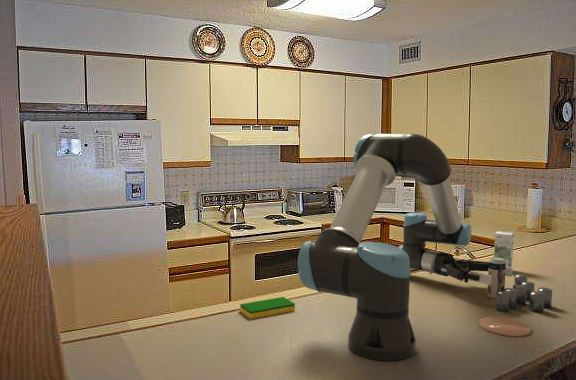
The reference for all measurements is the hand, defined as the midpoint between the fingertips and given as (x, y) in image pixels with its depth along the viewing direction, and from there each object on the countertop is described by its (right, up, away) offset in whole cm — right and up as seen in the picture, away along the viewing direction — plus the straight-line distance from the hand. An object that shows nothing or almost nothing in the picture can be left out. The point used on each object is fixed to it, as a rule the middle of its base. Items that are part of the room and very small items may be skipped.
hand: (501, 276), depth 146 cm
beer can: (-1, -7, +2) cm, 7 cm away
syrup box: (+15, -4, +33) cm, 36 cm away
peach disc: (-9, -9, -23) cm, 26 cm away
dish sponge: (-70, -8, -11) cm, 71 cm away
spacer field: (+5, -7, -3) cm, 9 cm away
